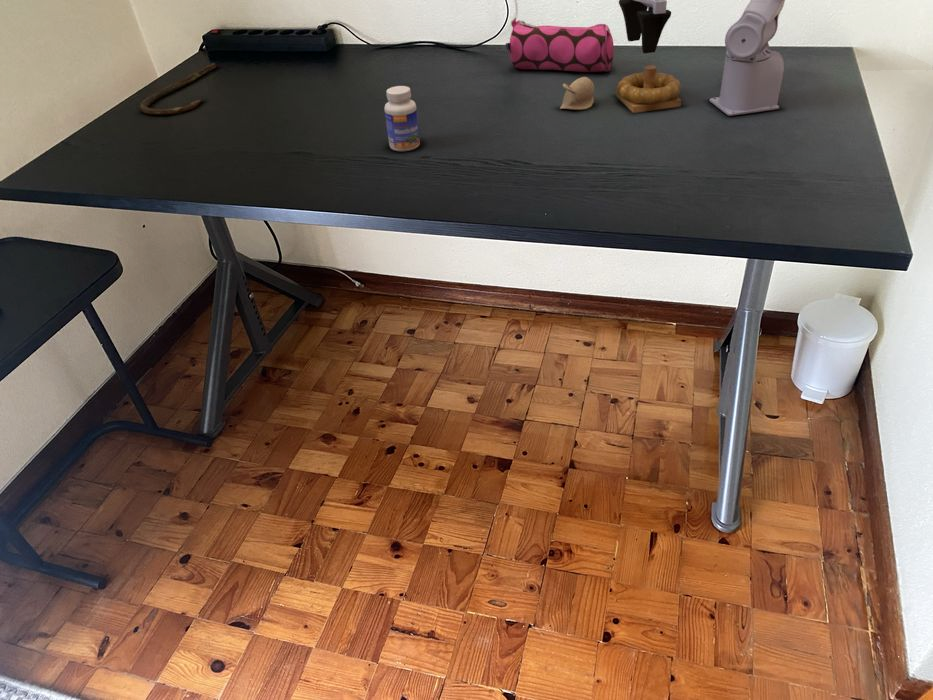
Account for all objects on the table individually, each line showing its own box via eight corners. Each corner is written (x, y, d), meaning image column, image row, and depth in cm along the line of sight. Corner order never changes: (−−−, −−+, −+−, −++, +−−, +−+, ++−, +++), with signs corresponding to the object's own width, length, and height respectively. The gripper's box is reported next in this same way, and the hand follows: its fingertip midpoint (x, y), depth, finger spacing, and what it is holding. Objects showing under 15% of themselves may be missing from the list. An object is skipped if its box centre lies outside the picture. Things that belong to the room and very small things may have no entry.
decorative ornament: (600, 103, 136) (602, 74, 133) (568, 116, 132) (569, 86, 129) (584, 98, 138) (585, 69, 135) (553, 111, 135) (553, 81, 131)
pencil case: (505, 76, 151) (503, 25, 145) (516, 61, 158) (515, 11, 152) (608, 79, 146) (611, 26, 139) (615, 63, 153) (618, 12, 146)
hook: (135, 119, 146) (132, 112, 145) (163, 73, 169) (160, 66, 168) (198, 113, 147) (196, 105, 146) (217, 67, 170) (215, 61, 169)
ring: (664, 81, 139) (665, 67, 138) (689, 100, 131) (691, 86, 129) (608, 89, 138) (609, 75, 136) (630, 109, 129) (631, 94, 128)
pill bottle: (396, 155, 124) (389, 98, 118) (384, 144, 128) (376, 88, 122) (425, 147, 126) (419, 90, 120) (413, 136, 130) (406, 81, 123)
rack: (661, 90, 139) (664, 56, 135) (680, 106, 132) (684, 71, 128) (616, 96, 138) (618, 62, 134) (633, 113, 131) (635, 78, 127)
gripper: (610, -42, 130) (607, 38, 139) (640, -25, 119) (634, 60, 128) (648, -46, 131) (642, 33, 139) (681, -30, 120) (672, 55, 128)
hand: (641, 46), depth 134 cm, fingers open, 7 cm apart
